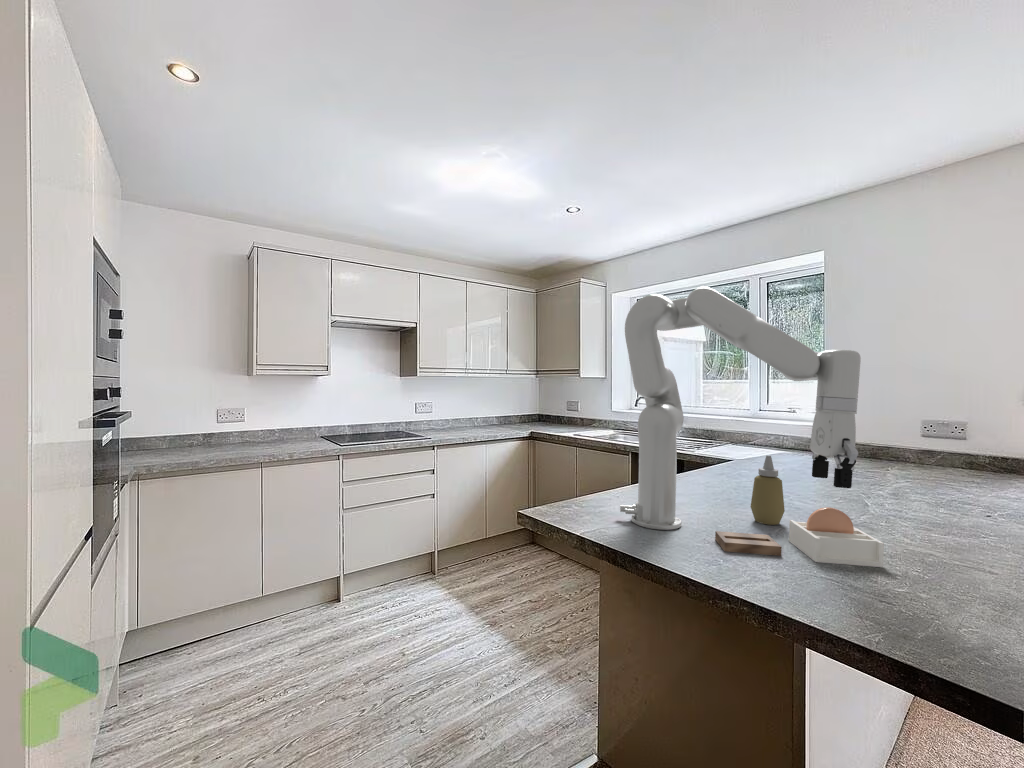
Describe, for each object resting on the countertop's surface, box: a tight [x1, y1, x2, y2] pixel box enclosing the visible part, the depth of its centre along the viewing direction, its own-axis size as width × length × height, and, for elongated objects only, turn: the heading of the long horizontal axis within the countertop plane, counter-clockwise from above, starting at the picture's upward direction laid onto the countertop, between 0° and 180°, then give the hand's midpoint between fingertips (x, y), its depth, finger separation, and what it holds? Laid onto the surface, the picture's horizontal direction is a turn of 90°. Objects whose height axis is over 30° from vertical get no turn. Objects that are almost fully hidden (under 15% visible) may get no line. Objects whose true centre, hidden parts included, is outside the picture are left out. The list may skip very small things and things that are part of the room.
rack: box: [788, 519, 885, 568], centre depth 103 cm, size 13×13×5 cm
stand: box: [714, 530, 783, 557], centre depth 105 cm, size 12×8×2 cm
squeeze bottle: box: [750, 455, 785, 526], centre depth 125 cm, size 8×8×18 cm
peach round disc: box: [806, 506, 855, 534], centre depth 103 cm, size 1×9×9 cm
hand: (830, 482), depth 103 cm, fingers open, 9 cm apart
